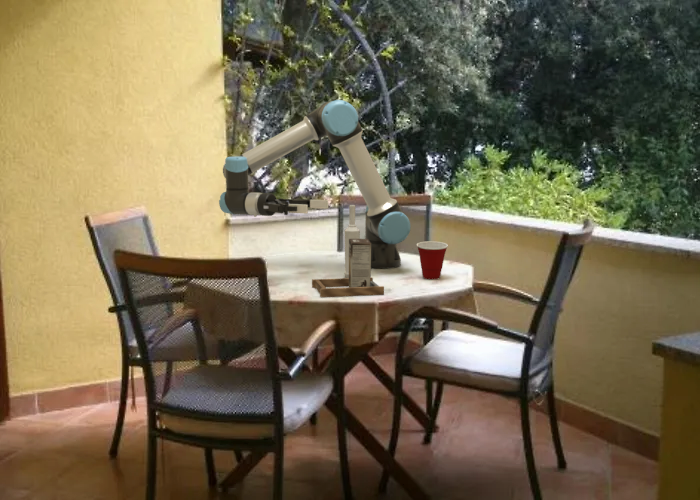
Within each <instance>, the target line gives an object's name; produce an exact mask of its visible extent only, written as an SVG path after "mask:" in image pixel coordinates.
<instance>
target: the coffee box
mask: <svg viewBox="0 0 700 500" xmlns="http://www.w3.org/2000/svg"><path fill="white" fill-rule="evenodd" d="M371 269H372V268H371V243H370V241H369V240H368V239H365V238H360V239H349V286H348V287H370V277H372V275H371V274H372V273H371V271H372V270H371Z"/></svg>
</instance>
